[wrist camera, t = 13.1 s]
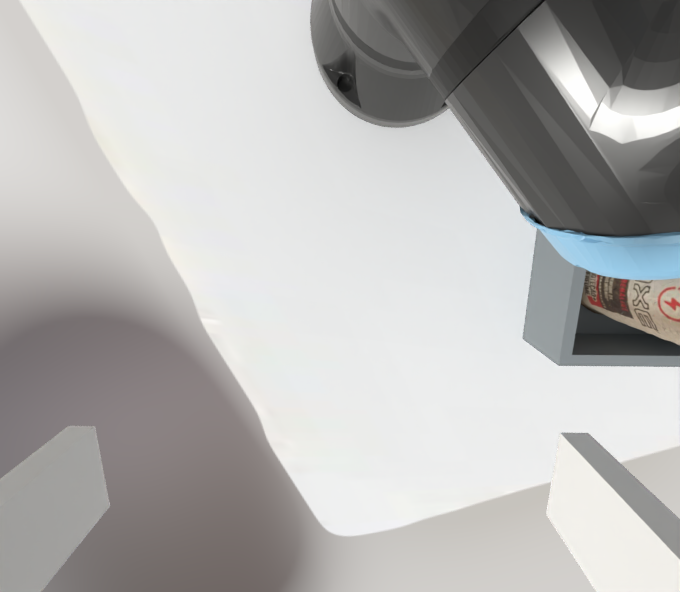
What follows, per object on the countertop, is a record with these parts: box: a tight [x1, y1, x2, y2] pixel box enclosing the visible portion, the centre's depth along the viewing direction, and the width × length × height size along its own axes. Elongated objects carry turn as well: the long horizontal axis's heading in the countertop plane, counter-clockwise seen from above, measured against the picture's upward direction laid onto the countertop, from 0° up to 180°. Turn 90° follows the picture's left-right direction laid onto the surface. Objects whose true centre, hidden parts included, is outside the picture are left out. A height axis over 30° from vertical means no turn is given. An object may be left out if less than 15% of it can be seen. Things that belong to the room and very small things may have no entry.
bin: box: [523, 228, 680, 367], centre depth 32 cm, size 14×14×6 cm
